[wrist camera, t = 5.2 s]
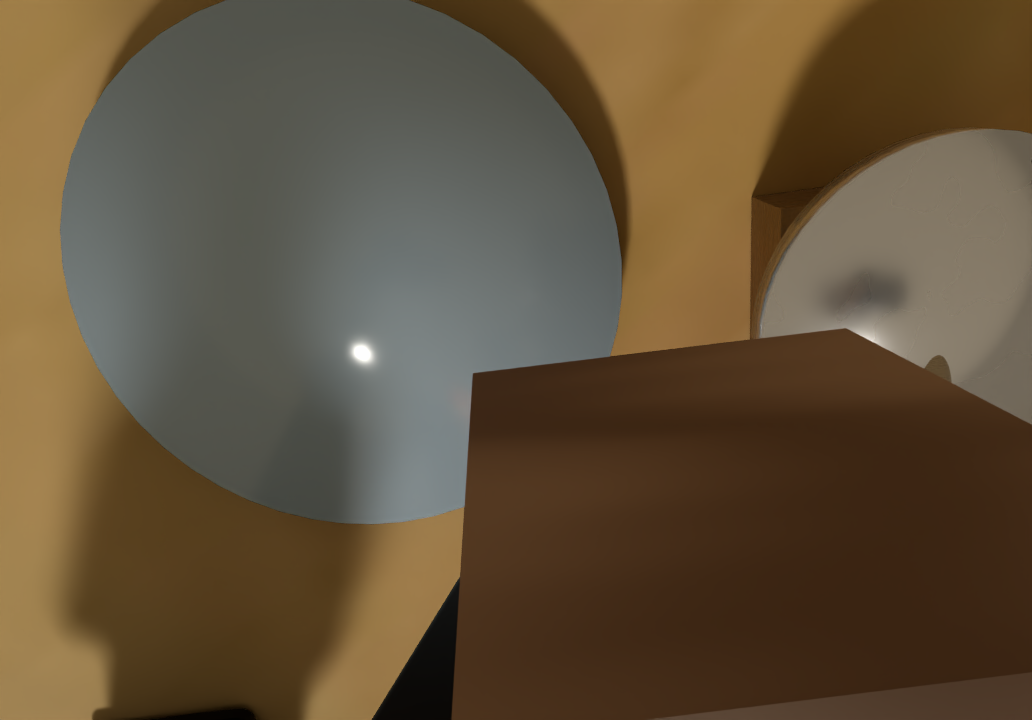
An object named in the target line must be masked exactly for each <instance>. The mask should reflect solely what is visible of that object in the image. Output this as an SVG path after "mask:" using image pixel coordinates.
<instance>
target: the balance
mask: <svg viewBox="0 0 1032 720" xmlns="http://www.w3.org/2000/svg"><path fill="white" fill-rule="evenodd" d="M842 328H847V329H849V330H851V331H853V332H855V333H856V334H858V335H860V336H862V337H864V338H866V339H868V340H870V341H872V342H874V343H876V344H878V345H880V346H881V347H883V348H885V349H887V350H889V351H891V352H893V353H895V354H897V355H899V356H901V357H903V358H905V359H906V360H908V361H910V362H912V363H914V364H916V365H918V366H920V367H922V368H924V369H926V370H928V371H930V372H932V373H933V374H935V375H937V376H939V377H941V378H943V379H945V380H947V381H949V382H951V383H953V384H955V385H957V386H958V387H960V388H962V389H964V390H966V391H968V392H970V393H972V394H974V395H976V396H978V397H980V398H982V399H983V400H985V401H987V402H989V403H991V404H993V405H995V406H997V407H999V408H1001V409H1003V410H1005V411H1007V412H1008V413H1010V414H1012V415H1014V416H1016V417H1018V418H1020V419H1022V420H1024V421H1026V422H1028V423H1030V424H1032V134H1031V133H1026V132H1022V131H1014V130H1001V129H987V128H973V127H967V128H953V129H943V130H938V131H933V132H928V133H923V134H919V135H916V136H913V137H910V138H907V139H904V140H901V141H898V142H895V143H893V144H891V145H889V146H887V147H885V148H883V149H881V150H878V151H876V152H874V153H872V154H870V155H868V156H867V157H865V158H864V159H862V160H860V161H859V162H857V163H856V164H854V165H853V166H851V167H849V168H848V169H846V170H845V171H844V172H843V173H841V174H840V175H839V176H837V177H836V178H835V179H834V180H832V181H831V182H830V183H829V184H827V185H826V186H825V187H820V188H813V189H806V190H799V191H792V192H785V193H777V194H770V195H763V196H756V197H752V221H751V309H750V340H751V339H759V338H768V337H776V336H784V335H792V334H801V333H809V332H817V331H826V330H834V329H842Z"/></svg>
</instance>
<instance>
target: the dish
mask: <svg viewBox="0 0 1032 720" xmlns="http://www.w3.org/2000/svg"><path fill="white" fill-rule="evenodd" d="M60 234H61V249H62V263H63V270H64V275H65V280H66V284H67V289H68V294H69V299H70V303H71V306H72V309H73V312H74V314H75V317H76V320H77V323H78V326H79V329H80V332H81V334H82V337H83V339H84V341H85V343H86V345H87V347H88V349H89V351H90V353H91V355H92V357H93V359H94V361H95V363H96V365H97V367H98V369H99V370H100V372H101V373H102V375H103V376H104V378H105V379H106V381H107V383H108V384H109V386H110V387H111V389H112V390H113V392H114V393H115V395H116V396H117V398H118V399H119V400H120V401H121V402H122V404H123V405H124V406H125V407H126V408H127V410H128V411H129V412H130V413H131V414H132V416H133V417H134V418H135V419H136V420H137V422H138V423H139V424H140V425H141V426H142V427H143V428H144V429H145V430H146V431H147V432H148V433H149V434H150V435H151V436H152V437H153V438H155V439H156V440H157V441H158V442H159V443H160V444H161V445H162V446H163V447H164V448H165V449H166V450H168V451H169V452H170V453H172V454H173V455H174V456H175V457H177V458H178V459H179V460H181V461H182V462H183V463H185V464H186V465H187V466H188V467H190V468H191V469H193V470H194V471H196V472H197V473H199V474H201V475H202V476H204V477H206V478H207V479H209V480H210V481H212V482H214V483H215V484H217V485H219V486H220V487H222V488H225V489H227V490H229V491H231V492H233V493H235V494H237V495H239V496H241V497H243V498H245V499H247V500H250V501H252V502H255V503H258V504H261V505H264V506H266V507H269V508H272V509H275V510H278V511H281V512H285V513H289V514H293V515H297V516H301V517H305V518H309V519H315V520H322V521H330V522H337V523H352V524H382V523H394V522H405V521H411V520H416V519H421V518H427V517H432V516H436V515H439V514H442V513H446V512H449V511H452V510H455V509H459V508H462V507H464V506H465V491H466V474H467V458H468V442H469V425H470V409H471V393H472V376H473V373H478V372H486V371H495V370H503V369H511V368H519V367H528V366H536V365H544V364H553V363H561V362H569V361H577V360H586V359H594V358H602V357H610V354H611V350H612V346H613V343H614V339H615V335H616V332H617V327H618V320H619V312H620V305H621V297H622V260H621V253H620V245H619V238H618V231H617V225H616V221H615V217H614V214H613V210H612V207H611V203H610V199H609V196H608V192H607V189H606V187H605V184H604V182H603V180H602V177H601V175H600V173H599V170H598V168H597V166H596V163H595V161H594V159H593V156H592V154H591V153H590V151H589V149H588V147H587V146H586V144H585V142H584V141H583V139H582V137H581V136H580V134H579V132H578V131H577V129H576V127H575V126H574V124H573V122H572V121H571V119H570V118H569V117H568V116H567V114H566V113H565V112H564V110H563V109H562V108H561V107H560V105H559V104H558V103H557V102H556V100H555V99H554V98H553V97H552V95H551V94H550V93H549V91H548V90H547V89H546V88H545V87H544V86H543V85H542V84H541V83H540V82H539V81H538V80H537V79H536V78H535V77H534V76H533V75H532V74H531V73H530V72H529V71H528V70H526V69H525V68H524V67H523V66H522V65H521V64H520V63H519V62H518V61H517V60H516V59H515V58H513V57H512V56H511V55H509V54H508V53H507V52H505V51H504V50H503V49H501V48H500V47H498V46H497V45H496V44H494V43H493V42H492V41H490V40H489V39H488V38H486V37H485V36H484V35H482V34H480V33H479V32H477V31H475V30H473V29H471V28H470V27H468V26H466V25H464V24H462V23H460V22H459V21H457V20H455V19H453V18H451V17H449V16H448V15H446V14H444V13H441V12H439V11H436V10H433V9H431V8H428V7H426V6H423V5H420V4H418V3H415V2H412V1H410V0H225V1H223V2H220V3H218V4H215V5H213V6H210V7H208V8H205V9H203V10H200V11H198V12H195V13H193V14H192V15H190V16H188V17H187V18H185V19H183V20H182V21H180V22H178V23H177V24H175V25H173V26H172V27H170V28H168V29H167V30H165V31H163V32H162V33H160V34H159V35H158V36H157V37H155V38H154V39H153V40H152V41H151V42H150V43H148V44H147V45H146V46H145V47H144V48H143V49H141V50H140V51H139V52H138V53H137V54H135V55H134V56H133V57H132V58H131V59H130V60H129V61H128V62H127V63H126V64H125V66H124V67H123V68H122V69H121V70H120V72H119V73H118V74H117V75H116V76H115V77H114V79H113V80H112V81H111V82H110V83H109V85H108V86H107V87H106V88H105V89H104V91H103V93H102V94H101V96H100V98H99V99H98V101H97V103H96V104H95V106H94V108H93V109H92V111H91V113H90V114H89V116H88V118H87V119H86V121H85V123H84V126H83V128H82V131H81V133H80V136H79V138H78V141H77V143H76V146H75V148H74V151H73V153H72V156H71V160H70V164H69V169H68V173H67V177H66V182H65V186H64V191H63V199H62V212H61V226H60Z"/></svg>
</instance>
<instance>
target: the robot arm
mask: <svg viewBox="0 0 1032 720" xmlns="http://www.w3.org/2000/svg"><path fill="white" fill-rule="evenodd" d="M459 589H460V578H459V579H458V581H457V582H456V584H455V585H454V587H453V589H452V590H451V592H450V594H449V595H448V597H447V598H446V600H445V602H444V603H443V605H442V607H441V608H440V610H439V611H438V613H437V615H436V616H435V618H434V620H433V621H432V623H431V624H430V626H429V628H428V629H427V631H426V633H425V634H424V636H423V637H422V639H421V641H420V642H419V644H418V645H417V647H416V649H415V650H414V652H413V654H412V655H411V657H410V658H409V660H408V662H407V663H406V665H405V667H404V668H403V670H402V671H401V673H400V675H399V676H398V678H397V680H396V681H395V683H394V684H393V686H392V688H391V689H390V691H389V693H388V694H387V696H386V697H385V699H384V701H383V702H382V704H381V705H380V707H379V709H378V710H377V712H376V714H375V715H374V717H373V718H372V720H451V719H452V703H453V687H454V670H455V654H456V638H457V621H458V605H459ZM152 720H256V719H255V716H254V715H253V713H252V712H250V711H249V710H246V709H230V710H222V711H215V712H207V713H199V714H191V715H184V716H176V717H168V718H160V719H152Z"/></svg>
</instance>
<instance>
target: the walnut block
mask: <svg viewBox="0 0 1032 720" xmlns="http://www.w3.org/2000/svg"><path fill="white" fill-rule="evenodd" d="M451 720H1032V424H1030V423H1028V422H1026V421H1024V420H1022V419H1020V418H1018V417H1016V416H1014V415H1012V414H1010V413H1008V412H1007V411H1005V410H1003V409H1001V408H999V407H997V406H995V405H993V404H991V403H989V402H987V401H985V400H983V399H982V398H980V397H978V396H976V395H974V394H972V393H970V392H968V391H966V390H964V389H962V388H960V387H958V386H957V385H955V384H953V383H951V382H949V381H947V380H945V379H943V378H941V377H939V376H937V375H935V374H933V373H932V372H930V371H928V370H926V369H924V368H922V367H920V366H918V365H916V364H914V363H912V362H910V361H908V360H906V359H905V358H903V357H901V356H899V355H897V354H895V353H893V352H891V351H889V350H887V349H885V348H883V347H881V346H880V345H878V344H876V343H874V342H872V341H870V340H868V339H866V338H864V337H862V336H860V335H858V334H856V333H855V332H853V331H851V330H849V329H847V328H842V329H834V330H826V331H817V332H809V333H801V334H792V335H784V336H776V337H768V338H759V339H751V340H743V341H735V342H726V343H718V344H710V345H701V346H693V347H685V348H677V349H668V350H660V351H652V352H644V353H635V354H627V355H619V356H610V357H602V358H594V359H586V360H577V361H569V362H561V363H553V364H544V365H536V366H528V367H519V368H511V369H503V370H495V371H486V372H478V373H473V376H472V393H471V409H470V425H469V442H468V458H467V474H466V491H465V507H464V523H463V540H462V556H461V572H460V589H459V605H458V621H457V638H456V654H455V670H454V687H453V703H452V719H451Z"/></svg>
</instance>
